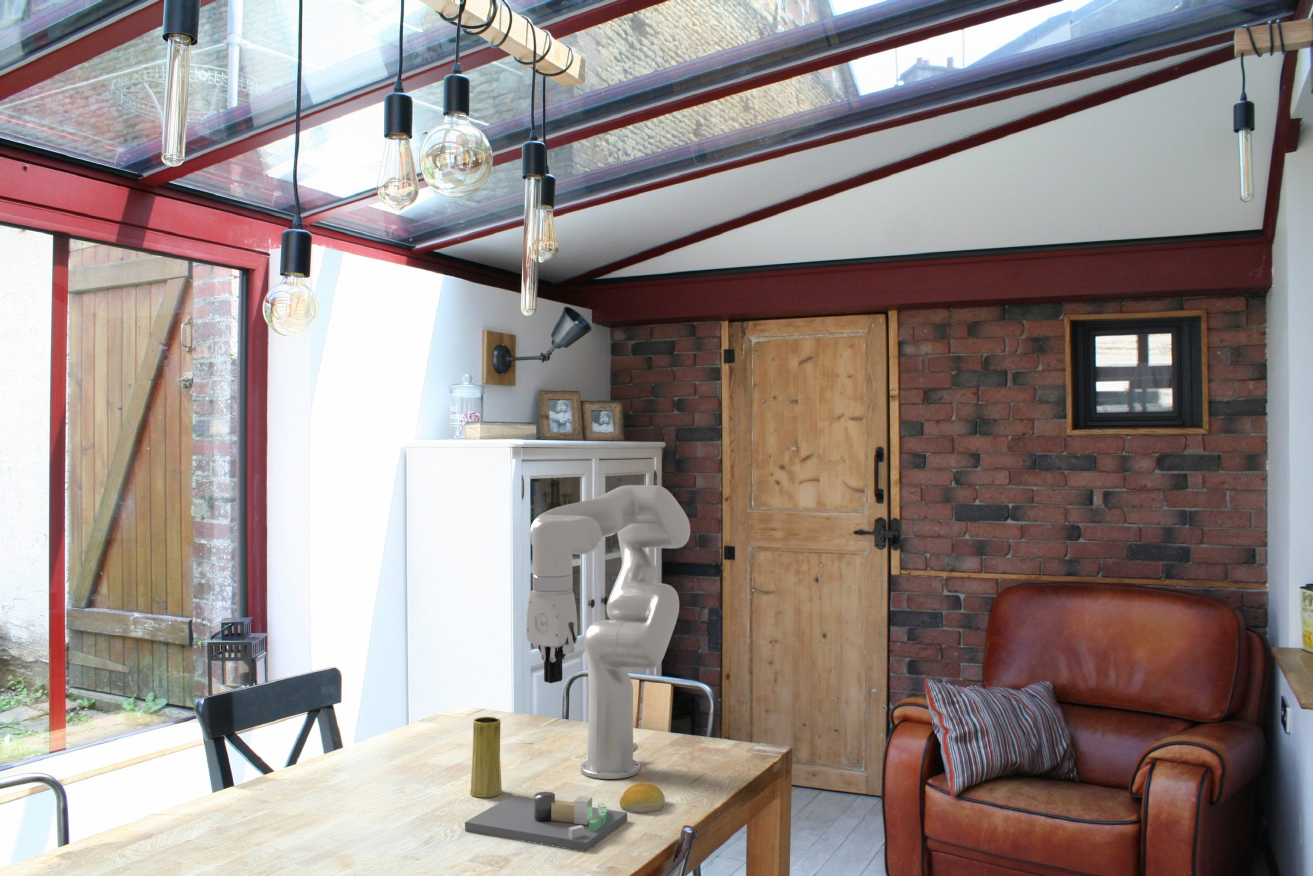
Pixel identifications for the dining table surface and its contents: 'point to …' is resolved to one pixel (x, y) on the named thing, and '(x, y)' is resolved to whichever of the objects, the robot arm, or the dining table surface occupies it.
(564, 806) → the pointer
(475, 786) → the vase
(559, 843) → the grey flat slab
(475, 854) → the dining table surface
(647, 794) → the bread roll
